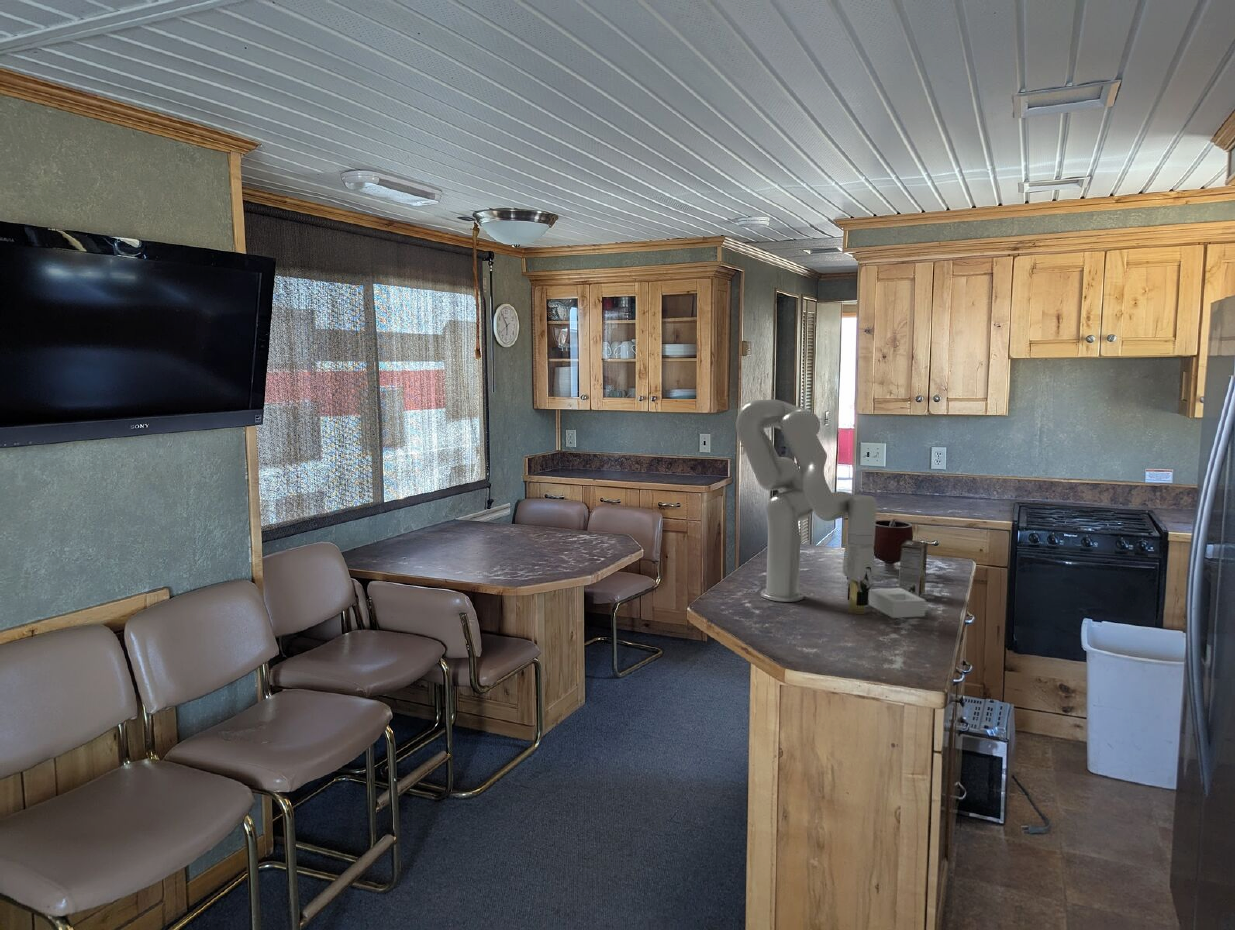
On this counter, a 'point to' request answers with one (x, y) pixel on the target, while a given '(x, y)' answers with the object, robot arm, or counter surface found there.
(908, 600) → the block
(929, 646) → the counter surface
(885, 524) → the dark red goblet
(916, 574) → the coffee box
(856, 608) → the cylinder
